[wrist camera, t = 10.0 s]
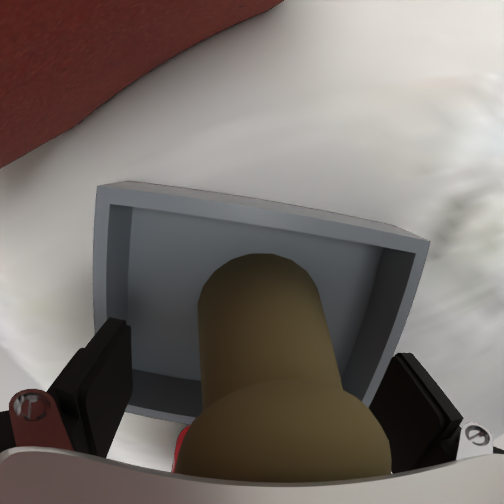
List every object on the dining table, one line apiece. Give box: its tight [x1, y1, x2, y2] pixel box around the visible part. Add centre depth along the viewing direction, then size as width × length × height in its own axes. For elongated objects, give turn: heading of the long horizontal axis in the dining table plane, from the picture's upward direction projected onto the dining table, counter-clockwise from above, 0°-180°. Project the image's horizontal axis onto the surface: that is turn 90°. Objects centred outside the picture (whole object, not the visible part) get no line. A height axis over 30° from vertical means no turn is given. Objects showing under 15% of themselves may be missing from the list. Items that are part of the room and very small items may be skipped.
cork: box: [175, 253, 392, 483], centre depth 10 cm, size 6×6×11 cm
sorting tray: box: [93, 181, 430, 425], centre depth 14 cm, size 13×11×4 cm
